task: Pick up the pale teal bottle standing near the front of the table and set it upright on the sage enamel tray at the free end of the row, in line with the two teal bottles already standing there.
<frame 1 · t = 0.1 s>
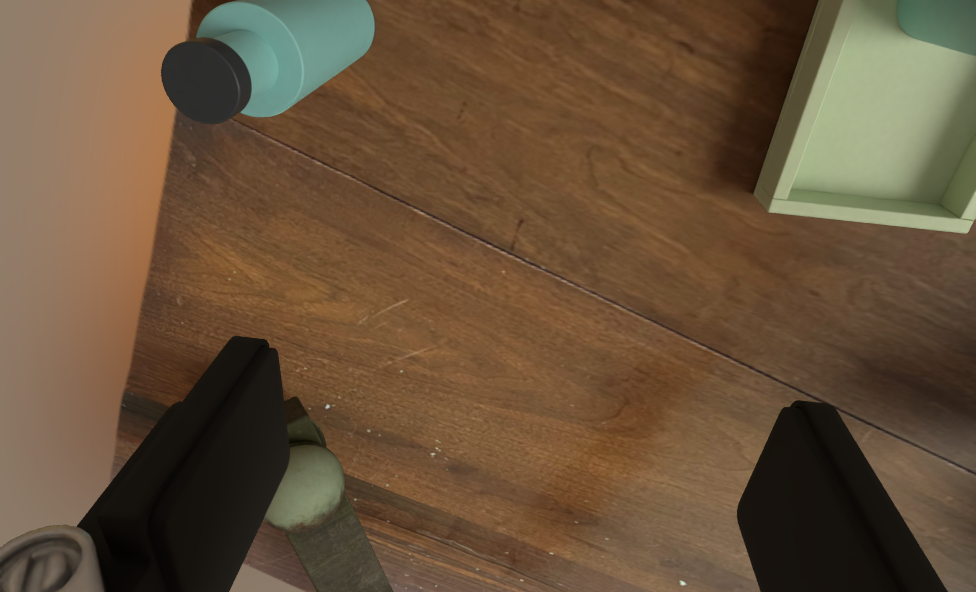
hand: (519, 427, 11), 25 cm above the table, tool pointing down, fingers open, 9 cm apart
bottle: (336, 22, 31), on the table
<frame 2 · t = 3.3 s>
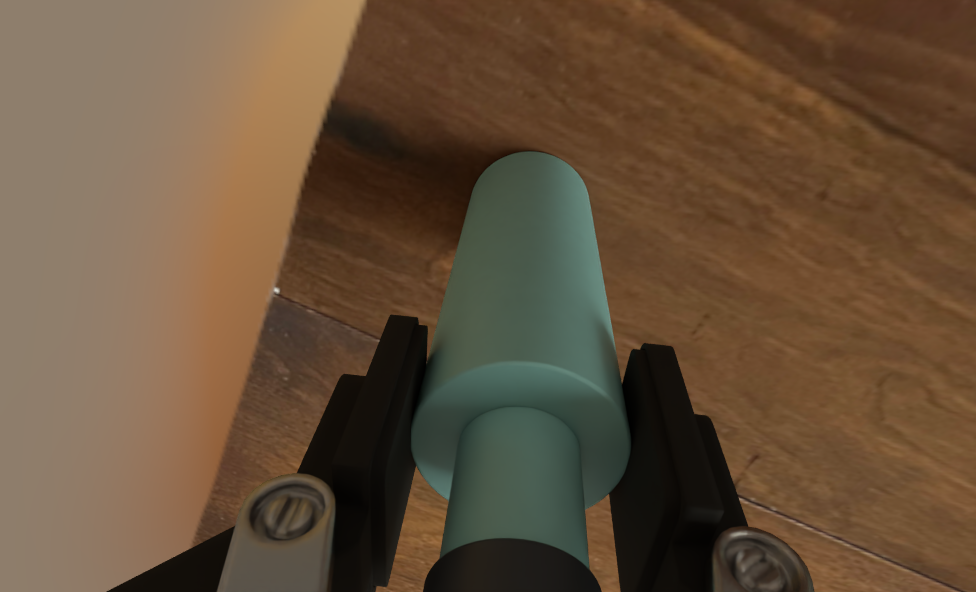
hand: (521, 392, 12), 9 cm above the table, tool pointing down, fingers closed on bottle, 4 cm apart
bottle: (529, 209, 20), on the table, touching gripper
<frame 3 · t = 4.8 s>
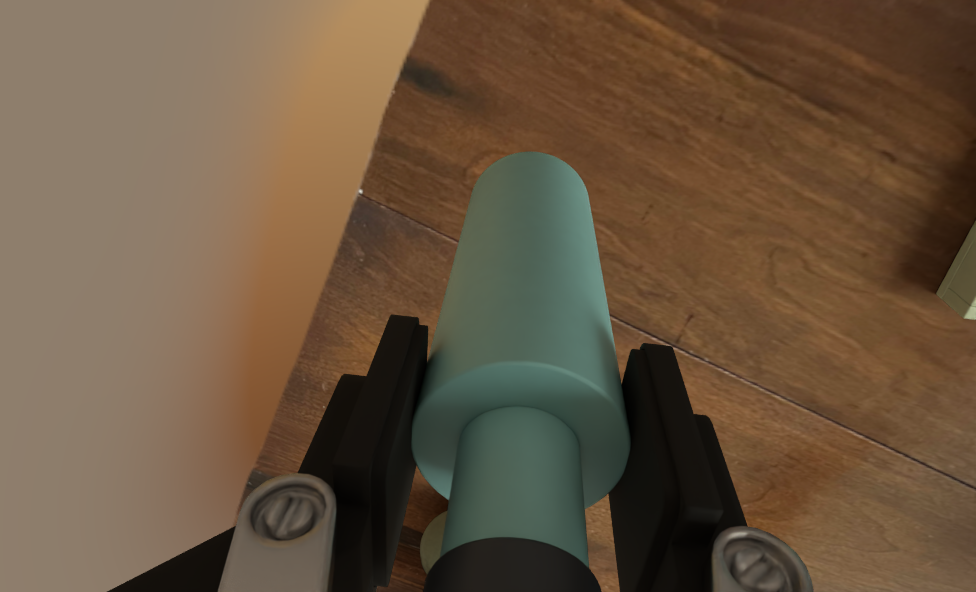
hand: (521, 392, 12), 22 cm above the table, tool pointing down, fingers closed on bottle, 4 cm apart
bottle: (529, 209, 20), point 12 cm above the table, touching gripper
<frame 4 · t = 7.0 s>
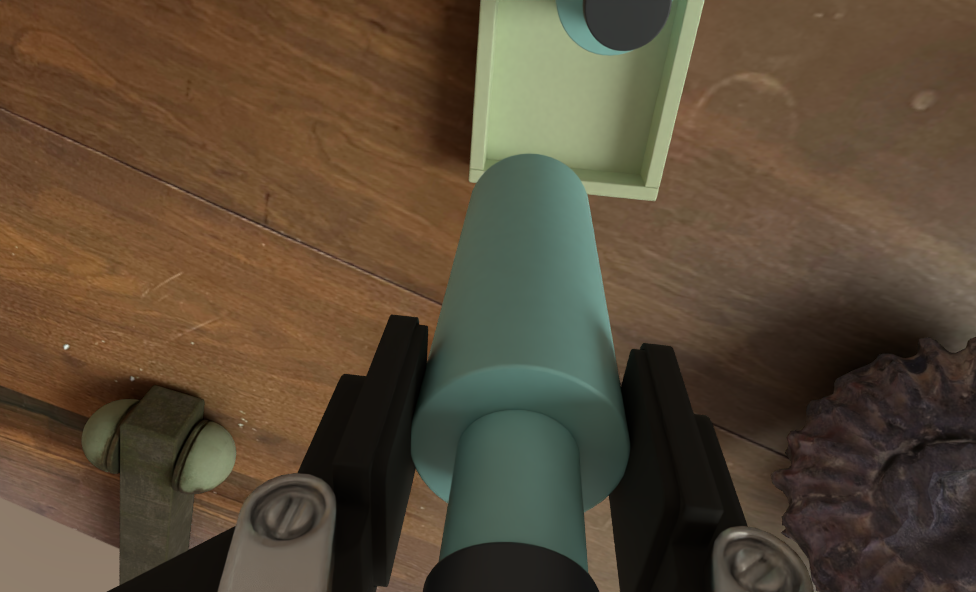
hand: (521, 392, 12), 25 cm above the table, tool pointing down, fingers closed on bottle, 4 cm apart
bottle: (528, 210, 20), point 16 cm above the table, touching gripper
seashell: (944, 511, 39), point 7 cm above the table, touching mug
post: (204, 544, 54), point 3 cm above the table
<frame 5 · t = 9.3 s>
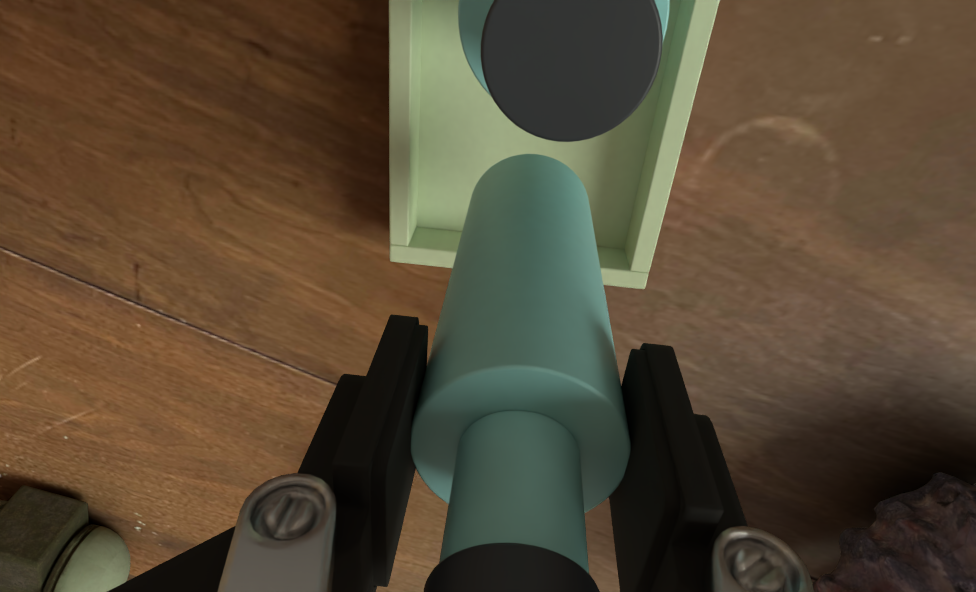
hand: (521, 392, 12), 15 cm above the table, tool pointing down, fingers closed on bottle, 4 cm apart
bottle: (529, 211, 20), point 5 cm above the table, touching gripper
when the fingers open (10 cm above the table, at t = 10.9 s): bottle stays where it is, resting on tray.
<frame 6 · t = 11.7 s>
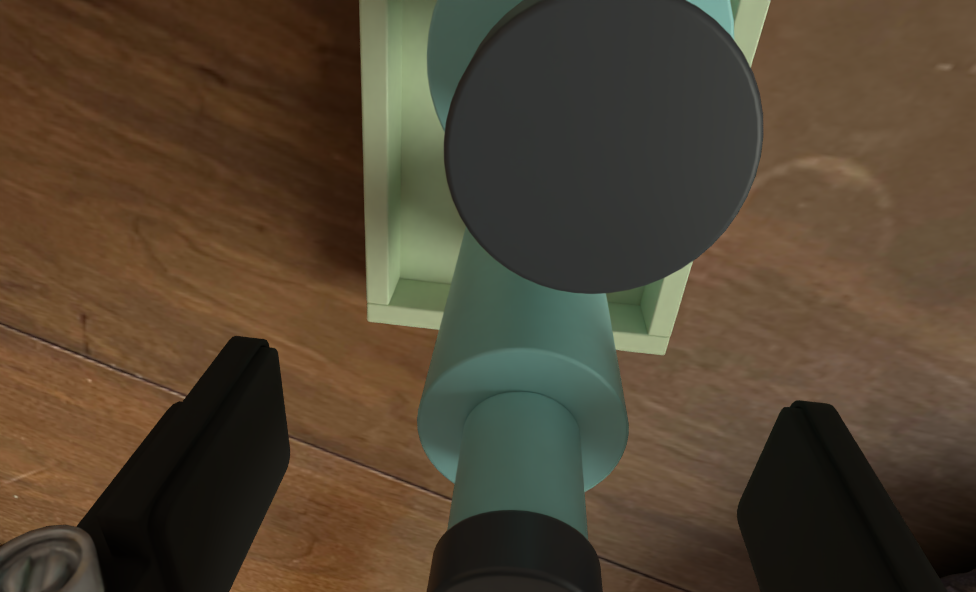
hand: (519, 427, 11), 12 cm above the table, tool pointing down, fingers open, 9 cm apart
bottle: (530, 207, 21), point 1 cm above the table, touching tray
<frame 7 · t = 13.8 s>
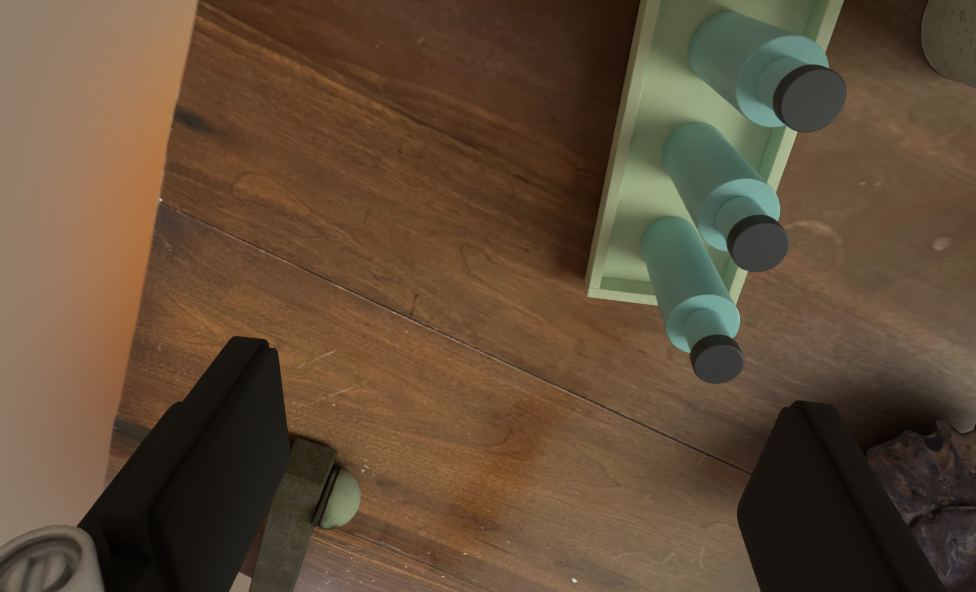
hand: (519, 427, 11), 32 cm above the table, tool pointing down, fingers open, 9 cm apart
tray bottle A: (721, 47, 36), point 1 cm above the table, touching tray
bottle: (668, 242, 43), point 1 cm above the table, touching tray
tray bottle B: (693, 152, 40), point 1 cm above the table, touching tray
seashell: (955, 559, 48), point 7 cm above the table, touching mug
post: (320, 570, 63), point 3 cm above the table
tray: (691, 149, 40), on the table
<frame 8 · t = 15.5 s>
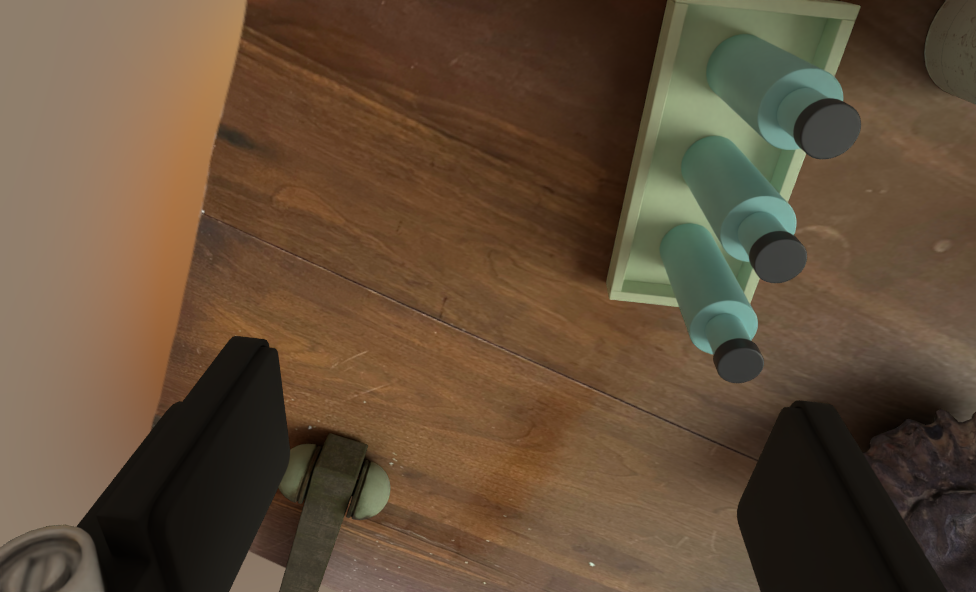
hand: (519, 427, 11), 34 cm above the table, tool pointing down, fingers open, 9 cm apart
tray bottle A: (737, 67, 39), point 1 cm above the table, touching tray
bottle: (686, 247, 46), point 1 cm above the table, touching tray
tray bottle B: (710, 163, 42), point 1 cm above the table, touching tray
seashell: (954, 539, 51), point 7 cm above the table, touching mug
post: (350, 558, 66), point 3 cm above the table
tray: (708, 160, 43), on the table
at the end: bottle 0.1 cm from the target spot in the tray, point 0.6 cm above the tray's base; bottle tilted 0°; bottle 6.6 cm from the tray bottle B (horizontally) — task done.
